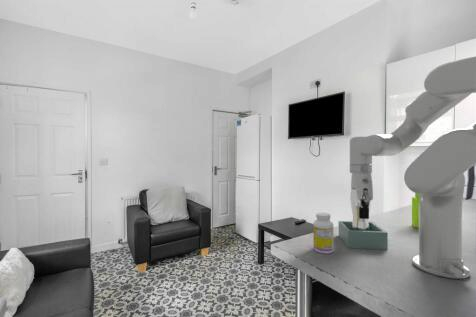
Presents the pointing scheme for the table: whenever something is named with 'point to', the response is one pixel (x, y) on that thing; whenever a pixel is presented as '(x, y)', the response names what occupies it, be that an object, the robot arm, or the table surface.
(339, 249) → the table surface
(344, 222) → the box
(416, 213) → the soap dispenser
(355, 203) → the beer glass
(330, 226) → the supplement bottle
